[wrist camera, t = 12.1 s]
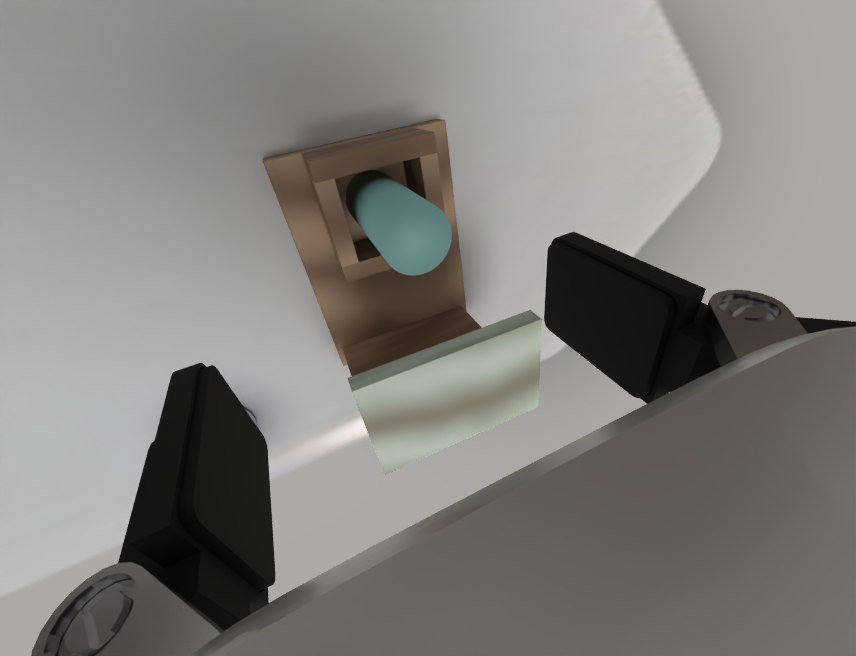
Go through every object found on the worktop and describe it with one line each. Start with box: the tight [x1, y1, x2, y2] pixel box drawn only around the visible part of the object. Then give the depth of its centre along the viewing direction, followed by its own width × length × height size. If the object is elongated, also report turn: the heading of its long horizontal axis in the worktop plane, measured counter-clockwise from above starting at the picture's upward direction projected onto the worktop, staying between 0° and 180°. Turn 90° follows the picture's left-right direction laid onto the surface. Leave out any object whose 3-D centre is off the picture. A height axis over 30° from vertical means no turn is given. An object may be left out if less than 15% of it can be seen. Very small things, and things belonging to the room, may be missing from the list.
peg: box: [345, 170, 452, 275], centre depth 23 cm, size 4×4×10 cm
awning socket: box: [263, 119, 542, 475], centre depth 26 cm, size 18×13×14 cm
